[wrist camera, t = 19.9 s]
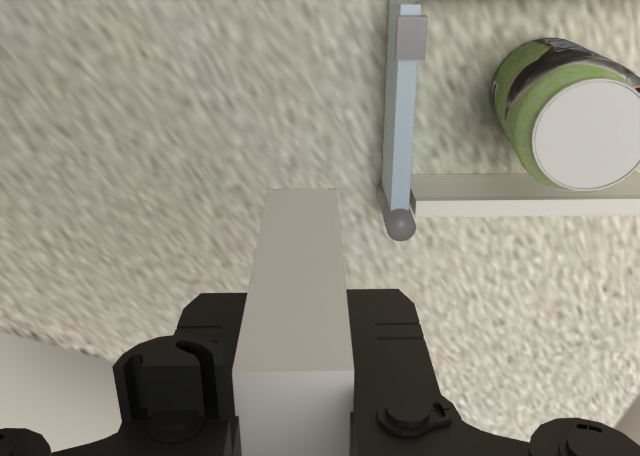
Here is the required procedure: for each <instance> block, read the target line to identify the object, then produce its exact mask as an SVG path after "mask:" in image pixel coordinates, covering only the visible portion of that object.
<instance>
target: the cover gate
mask: <svg viewBox="0 0 640 456" xmlns="http://www.w3.org/2000/svg"><path fill="white" fill-rule="evenodd" d="M426 31H427V16H425V15H421V4H419V3H416V2H414V1H411V0H389V16H388V41H387V65H386V89H385V114H384V138H383V162H382V181H381V182H380V183H379V185H378V186H377V190H376V192H377V196H378V200H379V204H380V207H381V211H382V215H383V218H384V222H385V226H386V229H387V233H388V235H389V236H390V237H391V238H392V239H393V240H396V241H405V240H408V239H409V238H411V237H412V236H413V234H414V233H415V230H416V224H415V221H414V219H413V216H412V214H411V211H410V208H409V198H410V181H411V165H412V149H413V132H414V116H415V99H416V83H417V66H418V59H425V47H426Z"/></svg>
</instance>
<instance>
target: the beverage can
mask: <svg viewBox="0 0 640 456" xmlns="http://www.w3.org/2000/svg"><path fill="white" fill-rule="evenodd" d="M491 97H492V106H493V109H494V112H495V115H496V117H497V119H498V121H499V122H500V124H501V126H502V128H503V130H504V132H505V134H506V136H507V137H508V139H509V141H510V143H511V145H512V147H513V149H514V150H515V152H516V154H517V156H518V158H519V160H520V162H521V164H522V165H523V167H524V168H525V169H526V170H527V172H528V173H529V174H530V175H531V176H532V177H534V178H535V179H536V180H537V181H539V182H540V183H542V184H544V185H545V186H547V187H550V188H553V189H555V190H558V191H563V192H569V193H585V192H592V191H597V190H600V189H603V188H607V187H610V186H612V185H614V184H617V183H619V182H620V181H622V180H623V179H625V178H627V177H628V176H629V175H630V174H631V173H633V172H634V171H635V170H636V169H637V168H638V167H639V165H640V78H639V77H638V76H637V75H636V74H635V73H634V72H633V71H631V70H629V69H628V68H626V67H624V66H623V65H620V64H618V63H616V62H614V61H612V60H610V59H608V58H605V57H603V56H601V55H599V54H597V53H595V52H593V51H590V50H588V49H586V48H584V47H582V46H580V45H578V44H575V43H573V42H570V41H568V40H565V39H559V38H544V39H539V40H535V41H532V42H529V43H527V44H525V45H523V46H521V47H520V48H518V49H517V50H515V51H514V52H513V53H512V54H510V55H509V56H508V58H507V59H506V60H505V61H504V62H503V63H502V65H501V66H500V68H499V70H498V72H497V74H496V76H495V78H494V82H493V86H492V96H491Z"/></svg>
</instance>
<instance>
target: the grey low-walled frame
mask: <svg viewBox="0 0 640 456" xmlns="http://www.w3.org/2000/svg"><path fill="white" fill-rule="evenodd" d="M409 203H410V205H411V208H412V210H413V213H414V215H415V217H508V216H615V215H640V173H631V174H630V175H629V176H628V177H627V178H625V179H623V180H622V181H620V182H619V183H617V184H614V185H612V186H610V187H607V188H603V189H600V190H597V191H592V192H585V193H569V192H563V191H558V190H555V189H553V188H550V187H547V186H545V185H544V184H542V183H540V182H539V181H537V180H536V179H535V178H534V177H532V176H531V175H530V174H466V175H411V181H410V198H409Z"/></svg>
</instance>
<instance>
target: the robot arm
mask: <svg viewBox="0 0 640 456" xmlns="http://www.w3.org/2000/svg"><path fill="white" fill-rule="evenodd" d="M113 373H114V378H115V384H116V390H117V395H118V401H119V407H120V413H121V418H122V423H121V426H120V429H119V431H118V432H117V433H115V434H113V435H111V436H109V437H107V438H105V439H102V440H99V441H96V442H92V443H89V444H85V445H81V446H77V447H73V448H69V449H65V450H61V451H57V452H53V453H51V449H50V446H49V444H48V443H47V441H46V440H45V439H44V438H43V436H42V435H41V434H39V433H36V432H33V431H31V430H28V429H26V428H22V429H21V428H20V429H19V428H18V429H17V428H4V429H0V456H640V446H639V445H638V444H637V443H635V442H634V441H633V440H631V439H630V438H629V437H627V436H626V435H625V434H623V433H622V432H620V431H618V430H616V429H613V428H611V427H609V426H607V425H604V424H602V423H600V422H595V421H590V420H586V419H581V418H559V419H554V420H552V421H549V422H547V423H544V424H542V425H540V426H539V427H538V428H537V430H536V431H535V432H534V433H533V435H532V436H531V440H530V443H529V442H525V441H520V440H516V439H511V438H507V437H502V436H498V435H494V434H491V433H488V432H484V431H481V430H479V429H477V428H475V427H473V426H471V425H469V424H467V423H465V422H464V421H463V420H462V419H461V416H460V415H459V413H458V411H457V410H456V408H455V407H454V405H453V403H451V402H450V401H449V400H447V399H446V398H445V397H443V396H442V395H441V393H440V390H439V386H438V383H437V380H436V376H435V373H434V369H433V366H432V363H431V359H430V356H429V352H428V349H427V346H426V342H425V339H424V335H423V332H422V329H421V325H419V318H418V315H417V312H416V308H415V305H414V303H413V302H412V301H411V300H410V299H409V298H407V297H406V296H405V295H404V294H403V293H402V292H401V291H400V290H399V289H349V290H346V283H345V273H344V263H343V253H342V243H341V233H340V223H339V213H338V203H337V193H336V188H328V189H268V192H267V197H266V202H265V207H264V213H263V218H262V223H261V228H260V233H259V238H258V243H257V248H256V253H255V258H254V263H253V268H252V273H251V278H250V283H249V288H248V293H201V294H200V295H198V296H197V297H196V298H195V299H194V300H193V301H192V302H190V303H189V304H188V305H187V306H186V307H185V308H184V309H183V312H182V314H181V317H180V320H179V322H178V325H177V330H175V333H174V335H172V336H164V337H158V338H155V339H152V340H149V341H146V342H143V343H140V344H138V345H136V346H135V347H133V348H132V349H130V350H128V351H127V352H125V353H124V354H122V356H121V357H120V358H119V359H118V361H117V362H116V363H115V364H114V365H113Z"/></svg>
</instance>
